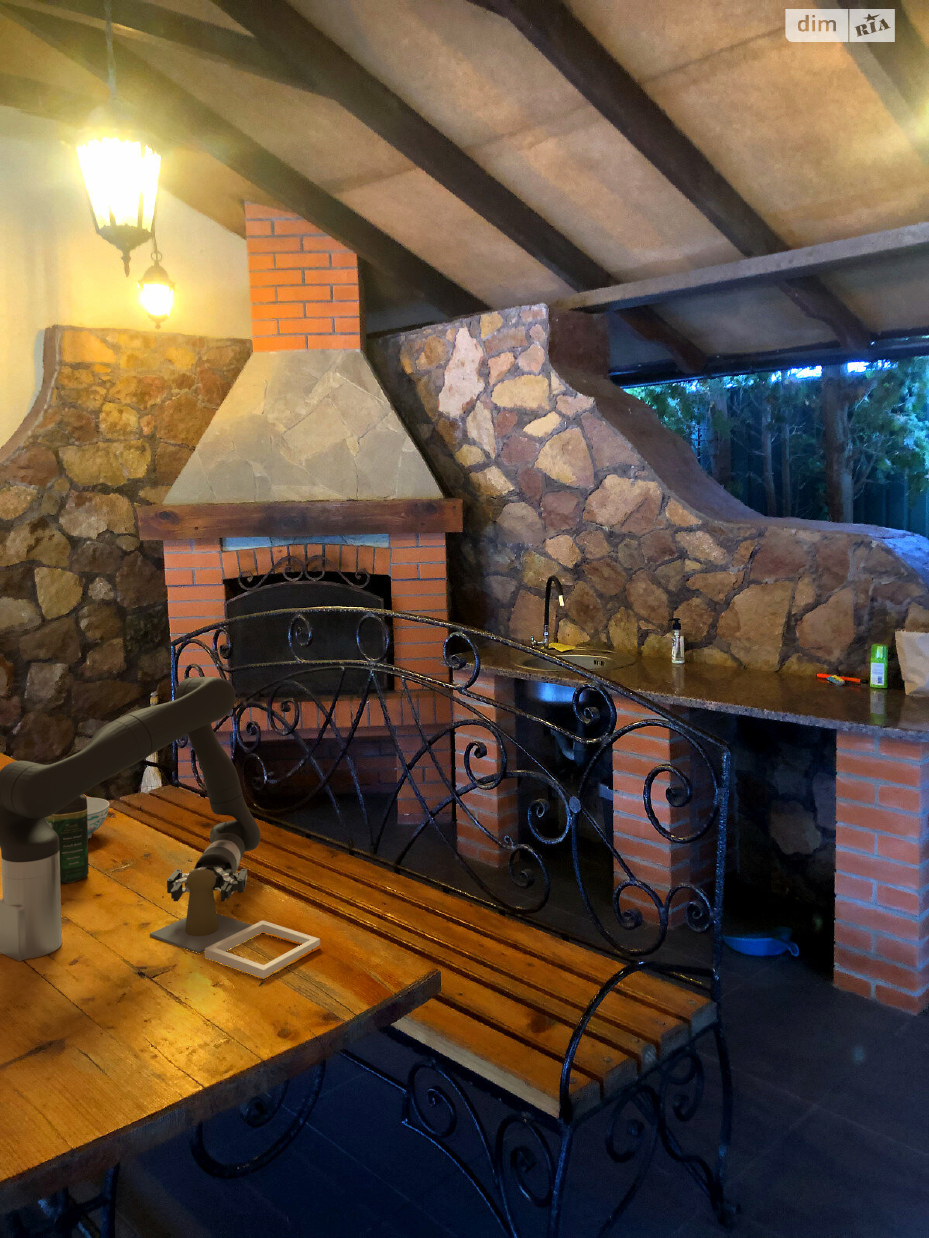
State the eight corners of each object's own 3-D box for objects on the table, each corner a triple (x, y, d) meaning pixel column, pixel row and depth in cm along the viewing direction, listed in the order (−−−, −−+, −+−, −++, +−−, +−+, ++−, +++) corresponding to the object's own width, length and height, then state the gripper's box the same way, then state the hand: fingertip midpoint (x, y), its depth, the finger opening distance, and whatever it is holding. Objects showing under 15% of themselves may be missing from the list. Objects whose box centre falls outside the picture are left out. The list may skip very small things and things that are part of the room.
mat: (199, 954, 161) (199, 951, 161) (149, 935, 168) (149, 933, 168) (253, 927, 172) (253, 925, 172) (204, 911, 179) (204, 909, 179)
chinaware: (63, 853, 210) (62, 820, 209) (29, 839, 219) (28, 807, 218) (122, 836, 222) (121, 805, 221) (88, 823, 231) (87, 793, 230)
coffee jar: (93, 879, 195) (91, 793, 193) (53, 887, 190) (50, 799, 188) (82, 865, 203) (80, 782, 201) (43, 872, 198) (40, 788, 196)
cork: (177, 931, 169) (176, 873, 168) (201, 919, 174) (200, 863, 173) (202, 938, 166) (201, 879, 165) (225, 926, 172) (225, 869, 171)
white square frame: (263, 980, 152) (263, 969, 152) (204, 958, 160) (204, 948, 160) (320, 948, 164) (320, 938, 164) (262, 929, 172) (262, 920, 171)
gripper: (182, 845, 183) (158, 876, 167) (254, 845, 184) (238, 876, 168) (182, 882, 184) (159, 916, 168) (254, 882, 184) (238, 915, 168)
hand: (199, 896), depth 168 cm, fingers open, 8 cm apart
